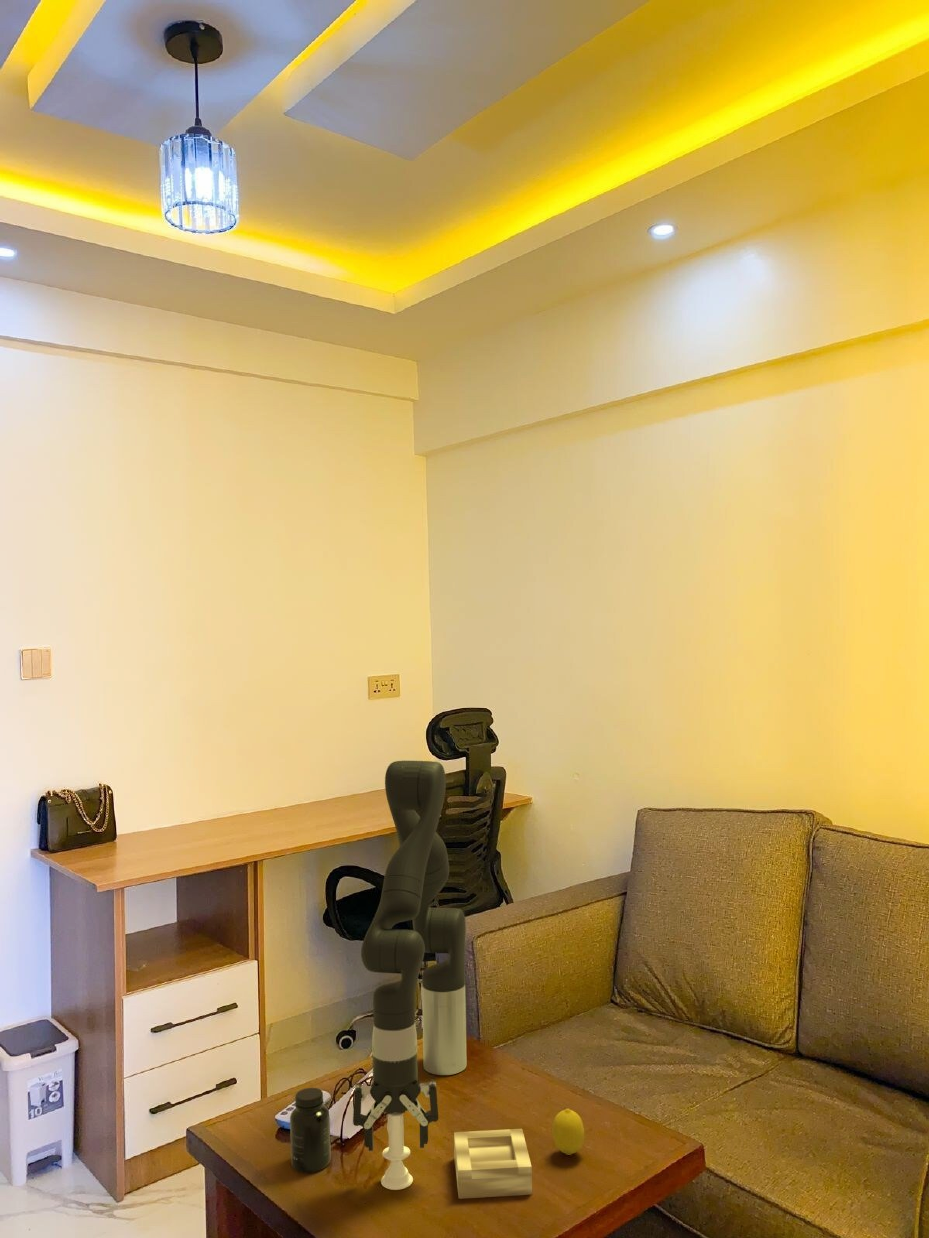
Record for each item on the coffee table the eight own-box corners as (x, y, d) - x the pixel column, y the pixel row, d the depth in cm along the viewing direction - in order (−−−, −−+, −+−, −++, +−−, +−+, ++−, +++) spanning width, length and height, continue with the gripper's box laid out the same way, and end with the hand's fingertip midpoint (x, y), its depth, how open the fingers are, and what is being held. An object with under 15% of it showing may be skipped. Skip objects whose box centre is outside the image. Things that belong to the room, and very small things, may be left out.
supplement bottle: (315, 1148, 169) (314, 1080, 169) (338, 1162, 164) (337, 1092, 164) (283, 1163, 164) (282, 1093, 164) (305, 1178, 159) (304, 1107, 160)
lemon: (549, 1160, 163) (548, 1114, 164) (557, 1144, 169) (556, 1099, 169) (580, 1166, 162) (579, 1119, 162) (587, 1149, 167) (586, 1103, 167)
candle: (386, 1193, 155) (385, 1119, 155) (376, 1176, 160) (375, 1105, 160) (417, 1185, 157) (416, 1112, 157) (406, 1169, 162) (405, 1098, 162)
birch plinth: (454, 1158, 165) (454, 1132, 165) (522, 1154, 166) (522, 1128, 166) (458, 1198, 153) (458, 1170, 153) (532, 1194, 154) (531, 1166, 154)
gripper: (436, 1038, 163) (437, 1133, 162) (353, 1041, 162) (354, 1137, 162) (437, 1057, 155) (439, 1156, 155) (351, 1061, 154) (352, 1161, 154)
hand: (396, 1146), depth 158 cm, fingers open, 8 cm apart
